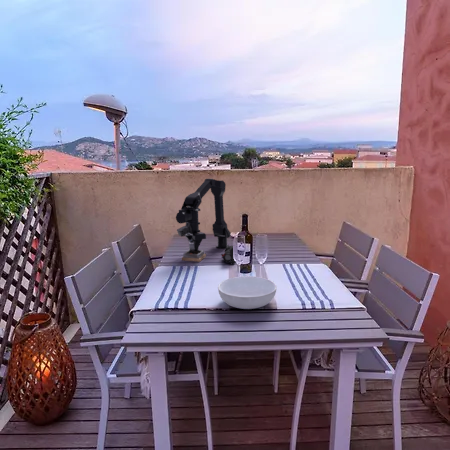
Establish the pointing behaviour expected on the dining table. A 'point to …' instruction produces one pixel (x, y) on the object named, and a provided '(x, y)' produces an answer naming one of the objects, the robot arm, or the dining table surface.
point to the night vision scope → (228, 255)
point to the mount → (193, 256)
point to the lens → (192, 248)
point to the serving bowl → (247, 291)
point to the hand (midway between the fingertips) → (193, 249)
